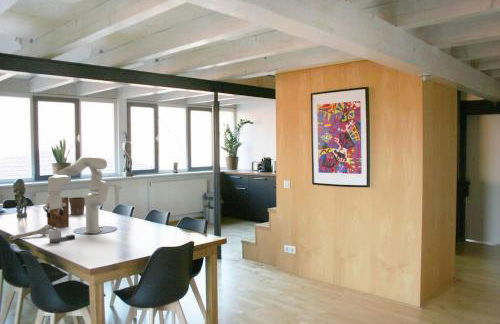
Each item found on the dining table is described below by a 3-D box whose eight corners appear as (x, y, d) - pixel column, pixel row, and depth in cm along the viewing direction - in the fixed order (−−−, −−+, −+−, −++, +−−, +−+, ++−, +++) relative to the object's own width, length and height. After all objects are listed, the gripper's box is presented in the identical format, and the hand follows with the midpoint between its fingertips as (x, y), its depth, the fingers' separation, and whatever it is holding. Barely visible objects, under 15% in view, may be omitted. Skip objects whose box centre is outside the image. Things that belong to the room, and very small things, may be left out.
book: (67, 225, 367) (67, 197, 366) (69, 226, 363) (69, 197, 362) (47, 227, 357) (47, 198, 355) (49, 228, 352) (48, 199, 351)
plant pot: (83, 212, 437) (82, 196, 436) (88, 214, 424) (88, 198, 424) (66, 213, 426) (66, 197, 426) (71, 215, 414) (71, 199, 413)
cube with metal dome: (56, 236, 310) (56, 226, 310) (61, 237, 307) (61, 227, 306) (48, 238, 305) (48, 228, 305) (53, 239, 302) (53, 229, 301)
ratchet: (70, 237, 320) (70, 228, 320) (76, 238, 317) (76, 229, 316) (47, 242, 305) (47, 232, 305) (53, 243, 301) (53, 233, 301)
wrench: (10, 243, 313) (52, 233, 332) (10, 244, 311) (53, 234, 330) (8, 233, 312) (51, 223, 331) (8, 233, 310) (51, 224, 329)
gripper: (62, 191, 314) (62, 214, 315) (39, 194, 299) (40, 217, 300) (68, 192, 309) (68, 215, 311) (45, 195, 295) (46, 219, 296)
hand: (54, 216), depth 305 cm, fingers open, 9 cm apart
